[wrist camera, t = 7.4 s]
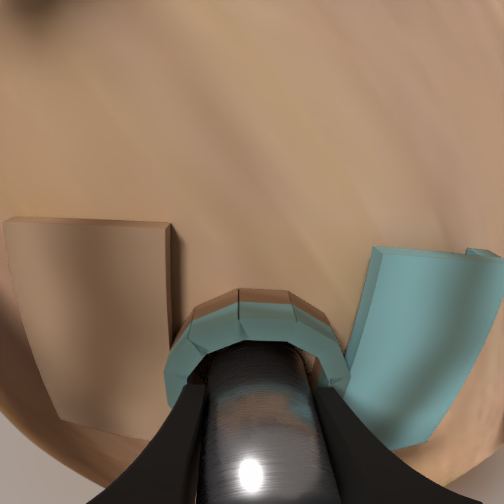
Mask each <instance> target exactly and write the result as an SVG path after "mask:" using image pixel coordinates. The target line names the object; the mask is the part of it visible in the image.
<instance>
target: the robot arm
mask: <svg viewBox="0 0 504 504" xmlns="http://www.w3.org/2000/svg"><path fill="white" fill-rule="evenodd" d="M313 400H314V404H315V408H316V411H317V415H318V418H319V422H320V426H321V429H322V433H323V436H324V440H325V444H326V447H327V451H328V455H329V459H330V462H331V466H332V470H333V473H334V477H335V481H336V485H337V489H338V492H339V496H340V500H341V504H483V503H482V502H480V501H477V500H474V499H470V498H468V497H465V496H462V495H459V494H457V493H455V492H453V491H450V490H448V489H446V488H444V487H442V486H440V485H438V484H436V483H435V482H433V481H431V480H430V479H428V478H426V477H425V476H423V475H422V474H420V473H418V472H417V471H415V470H414V469H412V468H411V467H410V466H408V465H407V464H406V463H404V462H403V461H402V460H401V459H399V458H398V457H397V456H396V455H395V454H393V453H392V452H391V451H390V450H389V449H388V448H387V447H386V446H385V445H384V444H383V443H382V442H381V441H379V440H378V439H377V437H376V436H375V435H374V434H373V433H372V432H371V431H370V430H369V429H368V428H367V427H366V426H365V425H364V424H363V422H362V421H361V420H360V419H359V418H358V417H357V416H356V414H355V413H354V412H353V411H352V410H351V408H350V407H349V406H348V405H347V404H346V402H345V401H344V400H343V399H342V397H341V396H340V395H339V394H338V392H337V391H336V390H335V389H334V388H333V387H323V388H316V390H315V393H314V396H313ZM204 412H205V385H195V384H186V385H184V386H183V389H182V391H181V393H180V395H179V397H178V399H177V401H176V403H175V405H174V407H173V408H172V410H171V412H170V413H169V415H168V417H167V418H166V420H165V421H164V423H163V424H162V426H161V427H160V429H159V430H158V432H157V433H156V435H155V436H154V437H153V439H152V440H151V441H150V443H149V444H148V445H147V446H146V448H145V449H144V450H143V452H142V453H141V454H140V455H139V456H138V457H137V459H136V460H135V461H134V462H133V463H132V464H131V465H130V466H129V467H128V468H127V469H126V470H125V471H124V472H123V473H122V474H121V475H120V476H119V477H118V478H117V479H116V480H115V481H114V482H113V483H112V484H111V485H109V486H108V487H107V488H106V489H105V490H104V491H102V492H101V493H100V494H98V495H97V496H96V497H94V498H93V499H92V500H91V501H89V502H88V503H86V504H195V497H196V491H197V484H198V473H199V462H200V451H201V441H202V431H203V422H204Z"/></svg>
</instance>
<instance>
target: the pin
mask: <svg viewBox="0 0 504 504" xmlns="http://www.w3.org/2000/svg"><path fill="white" fill-rule="evenodd" d="M196 504H341V500H340V496H339V492H338V489H337V485H336V481H335V477H334V473H333V470H332V466H331V462H330V459H329V455H328V451H327V447H326V444H325V440H324V436H323V433H322V429H321V426H320V422H319V418H318V415H317V411H316V408H315V404H314V400H313V397H312V393H311V390H310V386H309V383H308V379H307V376H306V372H305V369H304V365H303V362H302V359H301V357H300V356H299V354H298V353H297V352H296V351H295V350H294V349H293V348H292V347H291V346H289V345H287V344H286V343H284V342H281V341H259V340H242V341H240V342H237V343H234V344H232V345H229V346H227V347H224V348H223V349H222V350H221V351H219V352H218V353H217V355H216V356H215V357H214V359H213V360H212V362H211V365H210V369H209V376H208V385H207V394H206V403H205V412H204V422H203V431H202V441H201V451H200V462H199V473H198V484H197V496H196Z"/></svg>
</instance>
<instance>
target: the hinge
mask: <svg viewBox="0 0 504 504" xmlns="http://www.w3.org/2000/svg"><path fill="white" fill-rule="evenodd" d="M3 230H4V238H5V245H6V251H7V257H8V263H9V268H10V273H11V278H12V283H13V288H14V292H15V296H16V300H17V304H18V308H19V312H20V315H21V319H22V322H23V326H24V329H25V332H26V336H27V339H28V342H29V345H30V348H31V351H32V354H33V356H34V359H35V362H36V365H37V367H38V370H39V372H40V375H41V377H42V380H43V382H44V385H45V387H46V389H47V392H48V394H49V396H50V399H51V401H52V403H53V405H54V407H55V409H56V411H57V413H58V416H59V418H60V419H61V420H64V421H68V422H71V423H74V424H78V425H81V426H85V427H89V428H92V429H96V430H100V431H105V432H109V433H113V434H118V435H122V436H127V437H132V438H138V439H143V440H149V441H151V440H152V439H153V437H154V436H155V435H156V433H157V432H158V430H159V429H160V427H161V426H162V424H163V423H164V421H165V420H166V418H167V417H168V415H169V413H170V412H171V410H172V408H173V407H174V405H175V403H176V401H177V399H178V397H179V395H180V393H181V391H182V389H183V386H184V385H186V384H195V385H205V403H206V394H207V385H206V384H205V383H204V382H203V380H202V379H201V378H200V377H199V375H198V374H197V373H196V371H195V370H194V369H195V367H196V366H197V365H198V364H199V362H200V361H201V360H202V359H203V357H204V356H205V355H206V354H208V353H211V352H213V351H216V350H219V349H221V348H224V347H227V346H229V345H232V344H234V343H237V342H240V341H242V340H259V341H287V342H289V343H291V344H293V345H295V346H297V347H298V348H300V349H302V350H304V351H306V352H308V353H310V354H312V355H314V356H316V359H315V363H314V366H313V370H312V374H311V375H310V376H309V377H308V378H307V379H308V383H309V386H310V390H311V393H312V397H313V396H314V393H315V390H316V388H323V387H333V388H334V389H335V390H336V391H337V392H338V394H339V395H340V396H341V397H342V399H343V400H344V401H345V402H346V404H347V405H348V406H349V407H350V408H351V410H352V411H353V412H354V413H355V414H356V416H357V417H358V418H359V419H360V420H361V421H362V422H363V424H364V425H365V426H366V427H367V428H368V429H369V430H370V431H371V432H372V433H373V434H374V435H375V436H376V437H377V439H378V440H379V441H381V442H382V443H383V444H384V445H385V446H386V447H387V448H388V449H389V450H390V451H392V450H396V449H401V448H405V447H409V446H413V445H417V444H421V443H424V442H427V440H428V439H429V438H430V436H431V435H432V433H433V432H434V431H435V429H436V428H437V426H438V425H439V423H440V422H441V420H442V419H443V417H444V416H445V414H446V413H447V411H448V409H449V408H450V406H451V405H452V403H453V401H454V400H455V398H456V396H457V395H458V393H459V391H460V389H461V388H462V386H463V384H464V382H465V381H466V379H467V377H468V375H469V373H470V371H471V369H472V367H473V365H474V364H475V362H476V360H477V358H478V355H479V353H480V351H481V349H482V347H483V345H484V343H485V341H486V338H487V336H488V334H489V332H490V329H491V327H492V324H493V322H494V320H495V317H496V315H497V312H498V309H499V307H500V304H501V301H502V299H503V296H504V259H503V258H501V257H500V256H498V255H496V254H494V253H492V252H491V251H489V250H480V249H472V248H467V252H466V254H458V253H447V252H437V251H426V250H415V249H404V248H393V247H381V246H373V248H372V253H371V258H370V263H369V267H368V272H367V276H366V280H365V285H364V289H363V293H362V297H361V301H360V305H359V309H358V313H357V316H356V320H355V324H354V327H353V331H352V334H351V338H350V341H349V345H348V348H347V351H346V355H345V358H344V356H343V354H342V351H341V348H340V346H339V344H338V341H337V339H336V337H335V335H334V333H333V331H332V329H331V327H330V324H329V322H328V320H327V318H326V316H325V314H324V313H323V312H322V311H320V310H318V309H317V308H315V307H313V306H312V305H310V304H309V303H307V302H305V301H304V300H302V299H300V298H299V297H297V296H296V295H294V294H292V293H291V292H287V291H282V290H263V289H246V288H239V290H238V289H235V290H233V291H231V292H228V293H226V294H224V295H222V296H219V297H217V298H215V299H212V300H210V301H208V302H205V303H203V304H201V305H198V306H196V308H194V309H193V311H192V312H191V314H190V315H189V316H188V318H187V319H186V321H185V322H184V324H183V325H182V327H181V328H180V330H179V331H178V332H177V334H176V335H175V337H174V339H173V324H172V301H171V256H170V232H171V223H163V222H143V221H122V220H99V219H72V218H39V217H13V218H10V219H8V220H6V221H4V222H3Z"/></svg>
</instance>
